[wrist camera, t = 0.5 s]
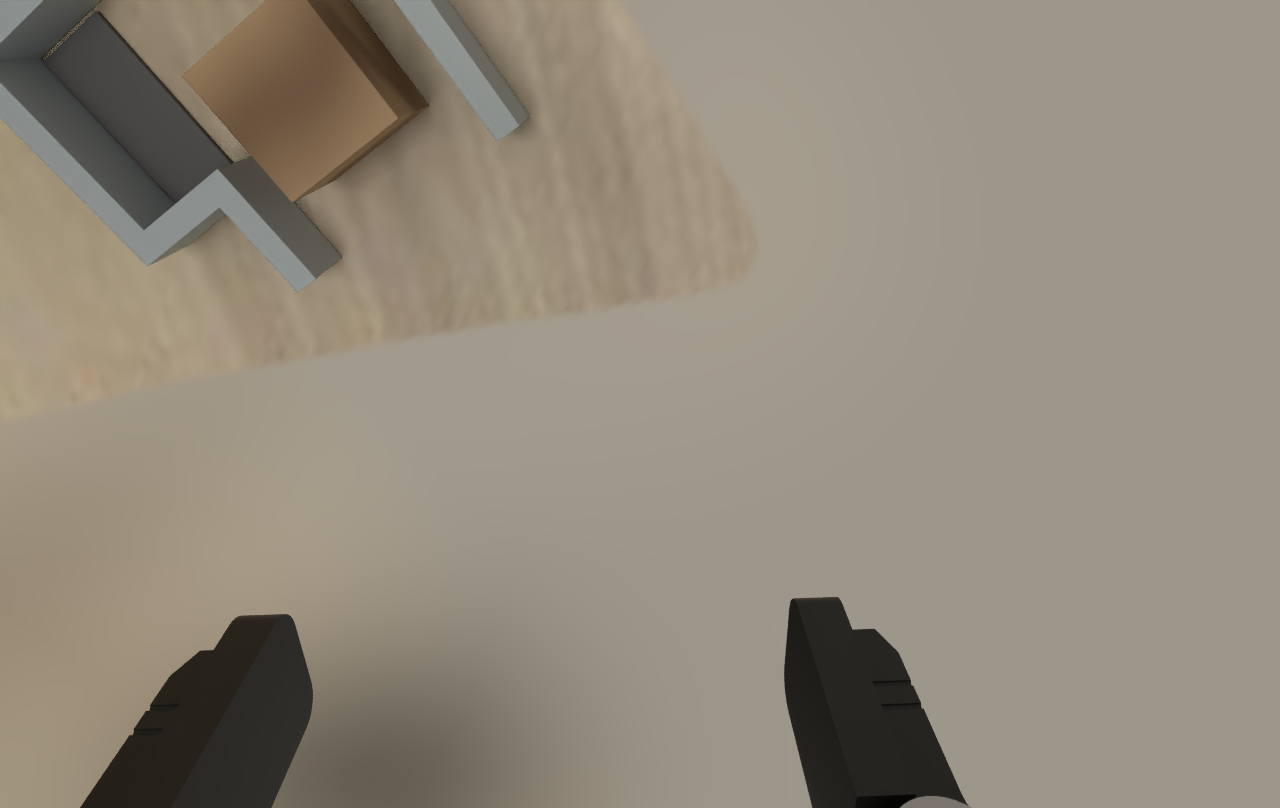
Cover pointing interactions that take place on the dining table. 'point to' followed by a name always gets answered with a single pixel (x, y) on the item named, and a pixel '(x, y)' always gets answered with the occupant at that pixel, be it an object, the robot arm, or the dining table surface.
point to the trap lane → (181, 133)
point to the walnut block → (306, 90)
